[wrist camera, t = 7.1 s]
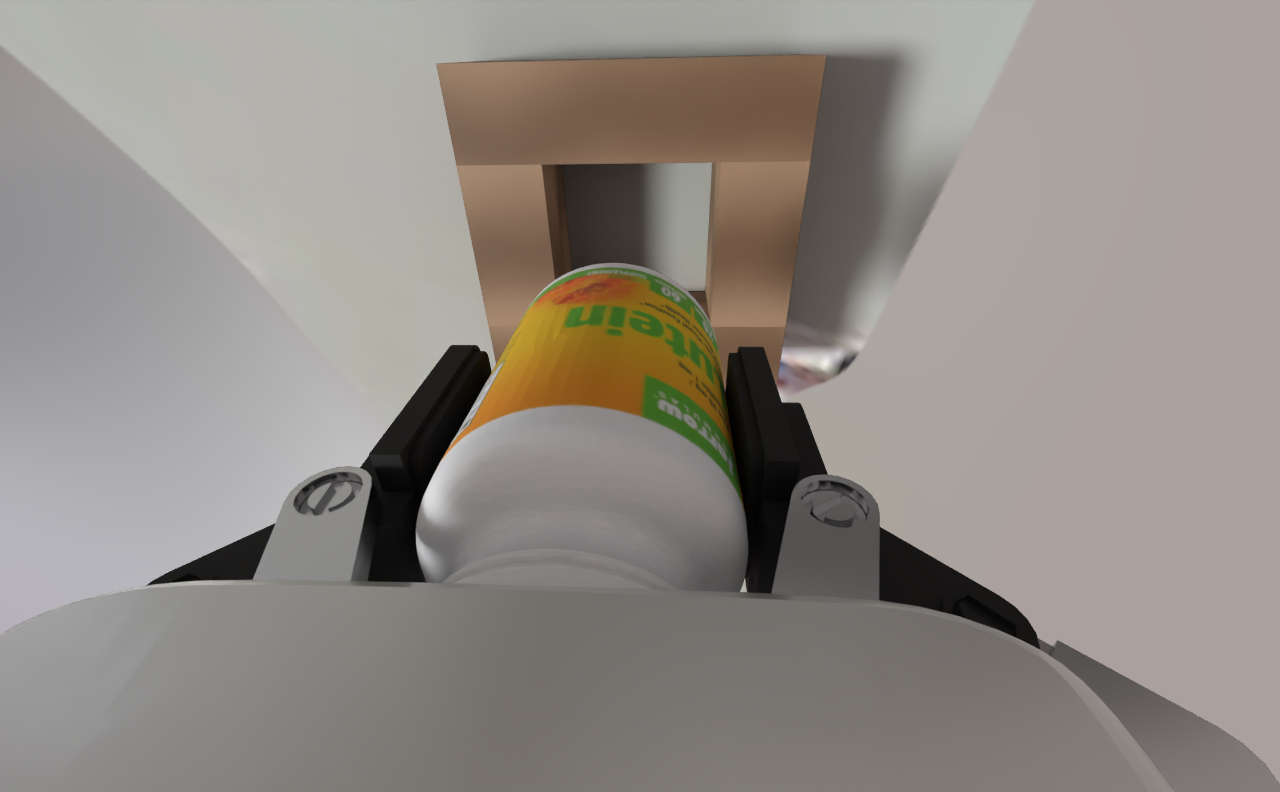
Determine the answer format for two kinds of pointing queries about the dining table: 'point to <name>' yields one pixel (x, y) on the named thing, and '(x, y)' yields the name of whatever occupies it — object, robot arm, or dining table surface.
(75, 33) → the dining table surface
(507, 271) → the socket block
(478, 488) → the supplement bottle
